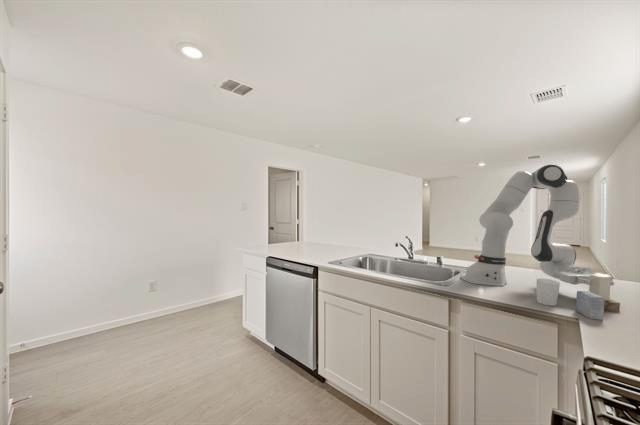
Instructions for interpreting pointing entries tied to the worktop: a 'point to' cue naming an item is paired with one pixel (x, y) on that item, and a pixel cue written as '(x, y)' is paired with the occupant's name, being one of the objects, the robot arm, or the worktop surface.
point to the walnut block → (611, 306)
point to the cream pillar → (600, 286)
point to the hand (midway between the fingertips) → (601, 283)
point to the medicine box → (590, 305)
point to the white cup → (547, 291)
